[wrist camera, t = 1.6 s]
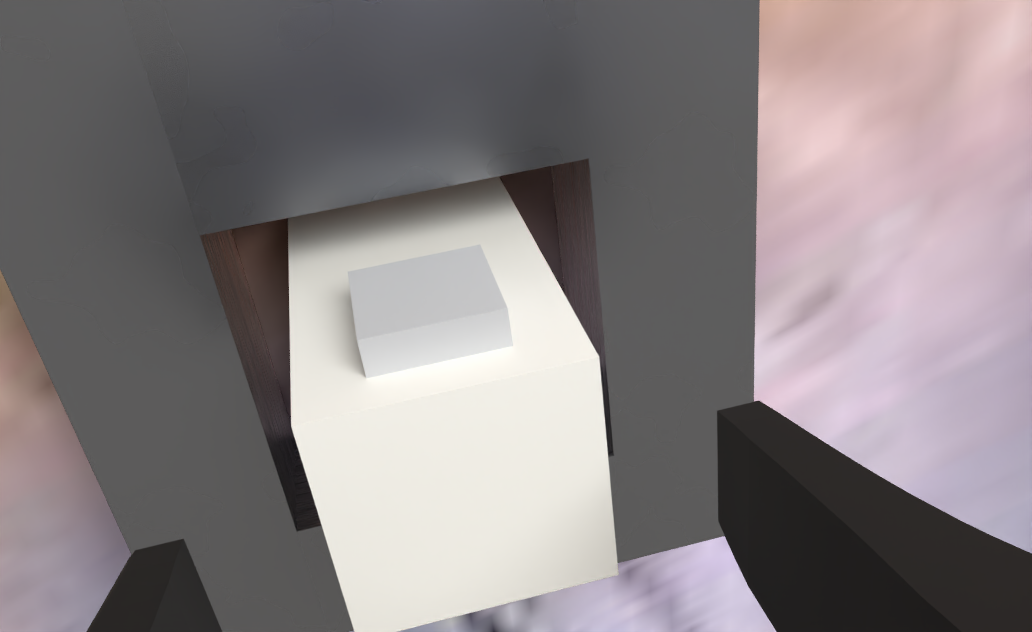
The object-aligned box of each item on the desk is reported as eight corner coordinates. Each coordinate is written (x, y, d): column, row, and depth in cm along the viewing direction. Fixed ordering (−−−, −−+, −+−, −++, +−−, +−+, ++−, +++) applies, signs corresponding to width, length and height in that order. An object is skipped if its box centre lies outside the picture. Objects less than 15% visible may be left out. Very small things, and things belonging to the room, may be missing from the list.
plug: (519, 341, 20) (618, 574, 14) (334, 381, 20) (356, 641, 14) (490, 139, 18) (595, 317, 12) (280, 179, 17) (279, 386, 11)
